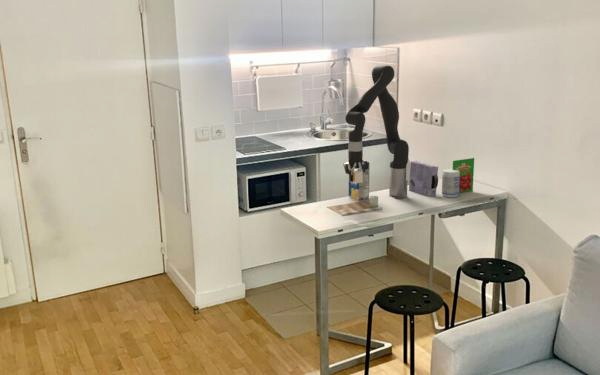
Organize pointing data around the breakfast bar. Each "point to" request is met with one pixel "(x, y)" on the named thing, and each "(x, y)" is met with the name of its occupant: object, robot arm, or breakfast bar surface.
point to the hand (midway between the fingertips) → (355, 180)
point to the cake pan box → (423, 178)
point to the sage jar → (373, 201)
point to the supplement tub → (450, 183)
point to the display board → (353, 208)
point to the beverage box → (360, 186)
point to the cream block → (357, 176)
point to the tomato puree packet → (465, 174)
